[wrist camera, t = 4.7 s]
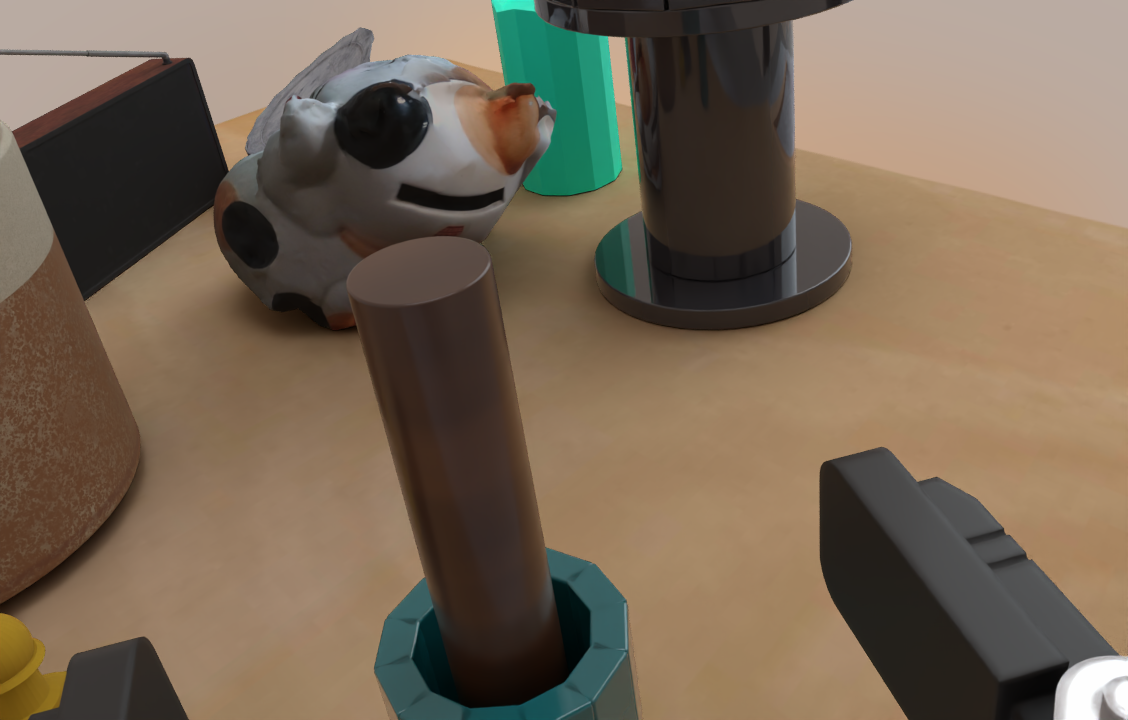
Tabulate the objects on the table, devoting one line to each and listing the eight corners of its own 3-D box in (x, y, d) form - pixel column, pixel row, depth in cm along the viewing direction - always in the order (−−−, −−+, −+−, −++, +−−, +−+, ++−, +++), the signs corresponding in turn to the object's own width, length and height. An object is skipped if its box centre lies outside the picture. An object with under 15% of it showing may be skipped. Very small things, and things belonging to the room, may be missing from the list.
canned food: (402, 258, 66) (356, 154, 58) (253, 245, 68) (186, 143, 60) (444, 119, 72) (407, 4, 63) (304, 110, 73) (249, -2, 65)
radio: (195, 188, 69) (111, -56, 61) (234, 189, 68) (155, -59, 60) (-22, 341, 54) (-168, 48, 46) (24, 345, 53) (-118, 46, 45)
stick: (618, 829, 26) (519, 246, 18) (567, 914, 24) (431, 316, 16) (536, 791, 27) (407, 227, 19) (483, 870, 26) (314, 291, 17)
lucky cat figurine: (452, 190, 62) (521, -26, 53) (533, 341, 56) (629, 127, 47) (186, 198, 55) (212, -52, 45) (246, 374, 48) (290, 126, 39)
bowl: (916, 219, 52) (938, -233, 42) (810, 370, 42) (806, -170, 32) (657, 187, 59) (622, -205, 49) (517, 311, 50) (435, -146, 39)
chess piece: (-58, 812, 30) (-142, 678, 27) (24, 703, 33) (-44, 577, 31) (68, 813, 29) (-7, 676, 26) (139, 701, 32) (78, 572, 30)
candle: (524, 159, 65) (491, -44, 59) (622, 149, 65) (600, -58, 58) (516, 200, 60) (479, -18, 54) (622, 189, 60) (597, -32, 53)
